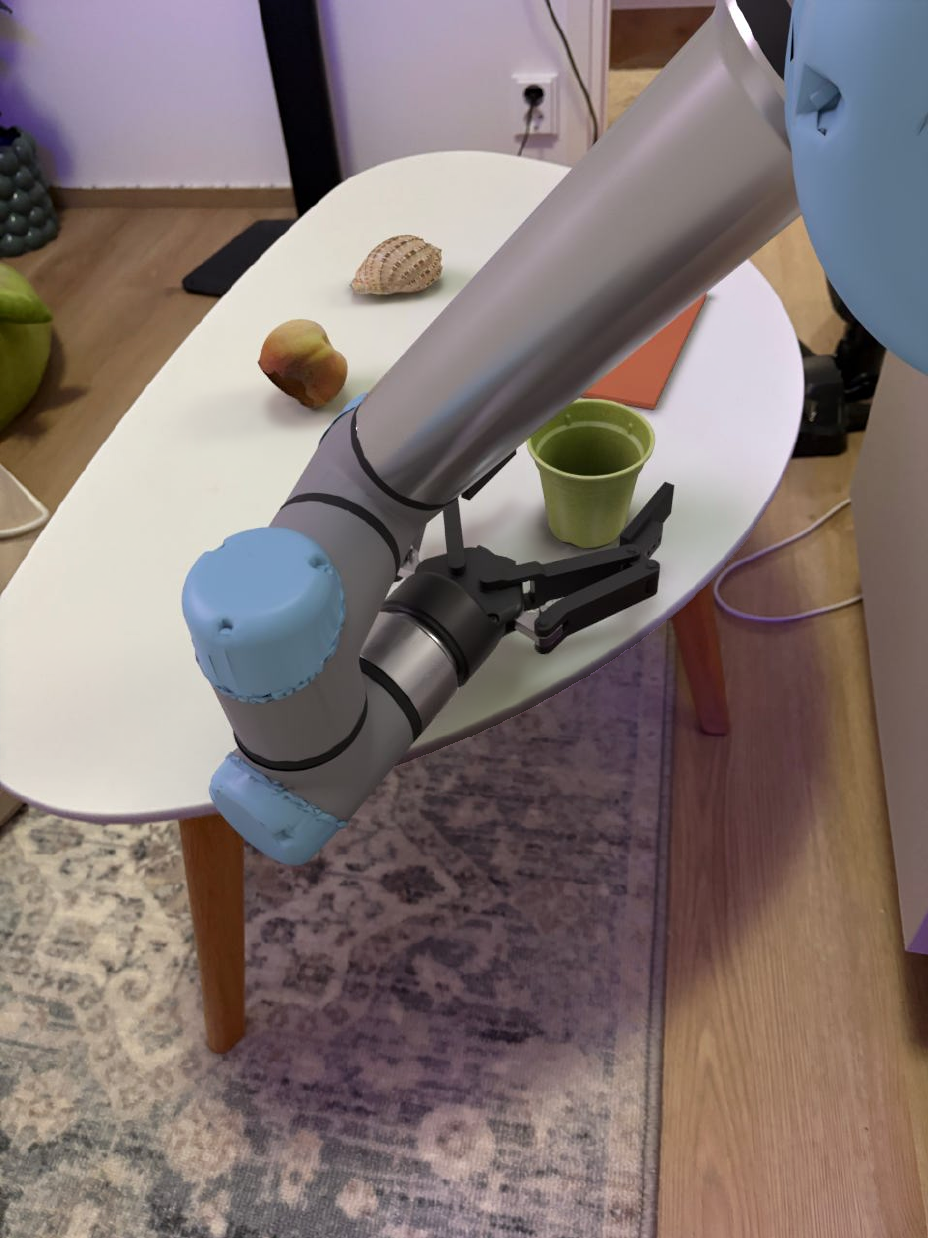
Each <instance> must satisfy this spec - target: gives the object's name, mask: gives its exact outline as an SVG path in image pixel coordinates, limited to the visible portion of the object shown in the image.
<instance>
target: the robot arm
mask: <svg viewBox="0 0 928 1238" xmlns="http://www.w3.org/2000/svg"><path fill="white" fill-rule="evenodd" d="M801 216H802V220H803V223H804V226H805V229H806V233H807V235H808V239H809V242H810V244H811V245H812V249H813V252H814V253H815V256H816V258H817V261H818V262H819V264H820V267H821V268H822V270H823V272H824V274H825V275H826V277H827V280H828V281H829V283H830V284H831V286H832V288H833V289H834V290H835V292H836V293H837V295H838V296H839V298H840V299H841V301H842V302H843V303H844V305H845V306H846V308H847V309H848V310H849V312H850V313H851V315H853V317H854V318H855V319H856V320H857V321H858V322H859V323H860V324H861V325H862V327H863V328H865V330H866V331H867V332H868V333H869V334H870V335H871V336H872V337H873V338H874V339H875V340H876V341H877V342H878V343H879V344H880V345H882V346H883V347H884V348H885V349H886V350H888V351H889V352H890V353H892V354H893V355H894V356H895V357H896V358H897V359H900V360H901V361H902V362H903V363H905V364H907V365H908V366H910V367H911V368H912V369H914V370H915V371H918V372H920V373H921V374H923V375H924V376H926V377H928V0H715V7H714V9H713V11H712V14H711V15H710V16H709V17H707V19H706V21H704V23H703V24H702V25H701V26H700V27H699V28H698V29H697V30H696V31H695V32H694V34H693V35H692V36H690V38H689V39H688V40H687V42H685V44H683V46H681V48H680V49H679V50H678V51H677V52H676V53H675V54H674V56H673V57H672V58H671V59H670V60H669V61H668V62H667V63H666V64H665V65H664V67H663V68H662V69H661V70H660V71H659V72H658V73H657V74H656V75H655V77H654V78H652V80H651V81H650V82H649V83H648V84H647V85H646V87H645V88H644V89H642V91H641V92H640V93H639V94H638V95H637V97H636V98H634V99H633V100H632V102H631V103H630V104H629V105H628V106H627V107H626V108H625V110H623V112H622V113H621V114H620V115H619V116H618V117H617V118H616V119H615V120H614V121H613V123H612V124H611V125H610V126H609V127H608V128H607V130H605V131H604V133H603V134H602V135H601V136H600V137H599V138H598V139H597V140H596V141H595V143H594V144H593V145H592V146H591V147H590V148H589V149H588V150H587V151H586V152H585V153H584V155H583V156H582V157H581V158H580V159H579V160H578V161H577V162H576V163H575V165H573V166H572V168H571V169H570V170H569V171H568V172H567V173H566V174H565V176H563V178H562V179H561V180H560V181H559V182H558V183H557V184H556V185H555V186H554V188H553V189H552V190H551V191H550V192H549V193H548V194H547V195H546V197H544V198H543V200H542V201H541V202H540V203H539V204H538V205H537V206H536V208H535V209H534V210H533V211H532V212H531V213H530V214H529V215H528V216H527V217H526V219H524V221H523V222H522V223H521V224H520V225H519V226H518V227H517V228H516V229H515V231H514V232H513V233H512V234H511V235H510V236H509V237H508V238H507V239H506V241H504V243H503V244H502V245H501V246H500V247H499V248H498V249H497V250H496V252H494V254H493V255H492V256H491V257H490V258H489V259H488V260H487V261H486V262H485V264H483V266H482V267H481V268H480V269H479V270H478V271H477V273H476V274H475V275H474V276H473V277H471V279H470V280H469V281H468V282H467V283H466V284H465V286H463V288H462V289H461V290H460V291H459V292H458V293H457V294H456V295H455V297H454V298H453V299H452V300H451V301H450V302H449V303H448V304H447V305H446V306H445V307H444V308H443V310H442V311H441V312H440V313H439V314H438V315H437V316H436V317H435V319H434V320H433V321H432V322H431V323H430V324H429V326H427V327H426V329H425V330H424V331H423V332H422V333H421V334H420V335H419V336H418V337H417V338H416V339H415V341H414V342H413V343H412V344H411V345H410V346H409V347H408V348H407V350H406V351H404V353H403V354H402V355H401V356H400V357H399V358H398V359H397V360H396V361H395V362H394V364H393V365H392V366H391V367H390V368H389V369H388V370H387V371H386V372H385V374H384V375H382V377H381V378H380V379H379V380H378V381H377V382H376V384H374V385H373V387H372V388H371V389H370V390H369V391H368V392H365V393H364V392H363V393H361V394H359V395H357V396H355V397H354V398H352V399H351V400H350V401H349V402H348V403H347V404H346V405H345V407H344V408H343V409H342V410H341V412H340V413H339V414H338V415H337V416H336V417H335V418H334V419H333V420H332V422H331V423H330V424H329V426H328V427H327V429H326V430H325V431H324V432H323V434H322V435H321V437H320V439H319V441H318V444H317V448H316V450H315V452H314V453H313V455H312V456H311V458H310V460H309V461H308V464H307V465H306V467H304V470H303V472H302V473H301V475H300V476H299V478H298V480H297V482H295V485H294V486H293V488H292V490H291V491H290V494H288V496H287V498H286V500H285V502H284V503H283V504H282V505H281V506H280V508H279V510H278V511H277V512H276V514H275V515H274V517H273V518H272V520H271V522H270V523H269V525H268V526H264V527H263V526H261V527H256V528H255V527H254V528H251V529H246V530H243V531H242V530H241V531H239V532H236V533H233V534H231V535H229V536H227V537H226V538H224V539H223V542H222V544H221V545H219V546H218V547H217V548H215V549H214V550H210V551H209V550H207V551H204V552H203V553H202V554H201V555H200V556H199V557H198V558H197V560H196V561H195V562H194V563H193V565H192V566H191V568H190V569H189V571H188V573H187V574H186V577H185V580H184V583H183V586H182V590H181V591H182V592H181V600H180V601H181V610H182V616H183V618H184V621H185V623H186V624H185V625H186V626H187V629H188V631H189V635H190V638H191V643H192V646H193V648H194V656H195V662H196V663H197V665H198V666H199V669H200V671H201V672H202V675H203V676H204V678H205V679H207V681H208V682H209V684H210V686H211V688H212V690H213V692H214V694H215V696H216V698H217V700H218V702H219V704H220V706H221V708H222V711H223V712H224V715H225V716H226V719H227V722H228V723H229V725H230V727H231V729H232V735H233V739H234V741H235V744H236V748H234V750H233V751H230V752H229V753H228V754H227V755H226V756H225V759H224V761H223V762H222V763H221V764H220V765H219V767H218V768H217V769H216V770H215V772H214V773H213V774H212V776H211V778H210V783H209V785H208V794H209V797H210V800H211V801H212V804H213V805H214V807H215V808H216V810H217V811H218V812H219V814H220V815H221V816H222V817H223V818H224V820H225V821H226V822H227V823H228V824H229V825H230V826H231V827H232V828H233V829H234V830H235V832H236V833H238V834H239V835H240V837H242V838H243V839H244V840H245V841H247V842H248V843H249V844H250V845H251V846H253V847H254V848H255V849H257V850H259V852H261V853H262V854H264V855H265V856H267V857H268V858H270V859H272V860H274V861H275V862H278V863H280V864H283V865H286V866H292V867H294V866H302V865H304V864H306V863H308V862H310V861H311V860H312V859H313V858H314V857H315V856H316V855H317V854H318V853H319V852H320V851H321V850H322V849H323V848H324V846H325V845H326V844H327V843H328V842H329V841H330V840H331V839H332V838H333V837H334V836H335V835H336V834H337V833H338V832H339V831H340V830H342V829H345V828H346V827H347V826H348V825H349V821H350V820H351V819H352V818H353V816H354V815H355V814H356V813H357V811H358V810H359V809H360V808H361V807H362V806H363V804H364V803H365V802H366V801H367V800H368V799H369V797H370V796H371V795H372V794H373V793H374V792H375V790H376V789H377V788H378V786H379V785H380V784H381V783H382V782H383V780H384V779H385V778H386V777H387V776H388V774H389V773H391V771H392V770H393V769H394V767H395V766H396V765H397V764H398V763H399V761H400V760H401V759H402V758H403V757H404V755H405V754H406V753H407V752H408V750H409V749H410V748H411V747H412V745H414V743H415V742H416V740H418V739H419V737H421V735H423V734H424V732H425V731H426V730H427V729H428V728H429V726H430V725H431V724H432V723H433V722H434V721H435V719H436V718H437V717H439V715H440V714H441V712H443V710H444V709H445V708H446V707H447V706H448V704H449V703H450V702H451V701H452V700H453V699H454V697H455V696H456V695H457V692H458V690H459V688H462V687H464V686H465V685H466V684H467V683H468V682H469V681H470V680H471V678H472V677H473V676H474V675H475V674H476V673H477V671H478V670H479V669H480V668H481V666H482V665H484V663H485V662H486V661H487V660H488V659H489V657H490V656H491V655H492V654H493V652H494V651H495V649H496V648H497V646H498V644H499V643H500V642H501V640H502V639H503V638H504V637H506V636H507V635H510V634H512V633H514V632H518V633H520V634H522V635H524V636H525V637H526V638H529V639H530V640H532V641H533V642H534V650H535V652H536V653H537V654H539V655H549V654H550V653H552V652H553V651H554V650H555V649H556V648H557V647H558V646H559V645H560V644H561V643H562V642H563V641H564V640H565V639H566V638H567V637H569V636H572V635H573V634H576V633H578V632H580V631H582V630H584V629H586V628H589V627H590V626H593V625H594V624H598V623H599V622H601V621H603V620H605V619H607V618H610V617H612V616H614V615H617V614H618V613H621V612H622V611H625V610H627V609H629V608H631V607H633V606H635V605H638V604H639V603H642V602H644V601H646V600H649V599H650V598H653V597H655V596H656V595H657V594H658V589H659V581H660V572H661V563H660V562H659V561H658V560H656V559H651V558H652V556H653V555H654V554H655V552H656V551H657V549H658V548H659V547H660V546H661V545H662V540H663V532H664V523H665V522H666V521H667V519H668V518H669V517H670V515H671V514H672V510H673V500H674V492H675V484H672V483H670V482H668V481H664V482H663V483H662V485H661V486H660V487H659V488H658V489H657V490H656V492H655V493H654V494H653V495H652V496H651V497H650V498H649V500H647V502H646V503H645V504H644V506H643V507H642V508H641V509H640V511H639V512H638V513H637V514H636V515H635V516H634V518H633V519H632V520H631V521H630V523H629V524H628V525H627V526H626V527H625V529H623V530H622V531H621V533H620V534H619V539H618V540H619V541H618V542H619V543H618V546H614V547H610V548H606V549H603V550H598V551H594V552H589V553H585V554H581V555H577V556H572V557H567V558H563V559H559V560H555V561H550V562H547V563H541V562H539V561H537V560H533V561H528V562H524V563H520V564H517V560H514V559H512V558H509V557H507V556H502V555H499V554H495V553H493V551H491V550H490V549H489V548H486V547H485V546H483V545H480V544H478V545H476V546H467V547H465V545H464V536H463V528H462V519H461V510H460V502H459V497H460V498H461V499H464V500H465V501H468V502H470V501H471V500H473V498H474V497H475V496H476V495H477V494H478V493H479V492H480V491H481V490H482V489H483V488H484V487H485V486H486V485H487V484H488V483H489V482H490V481H491V480H492V479H494V478H495V476H496V475H497V474H498V473H499V472H500V471H501V470H502V469H504V467H505V466H506V465H507V464H509V462H511V460H512V459H513V458H514V457H515V456H517V453H518V452H517V450H518V448H519V447H521V446H522V445H523V444H524V443H526V441H527V440H528V439H529V438H530V437H531V436H533V435H534V434H535V433H536V432H538V431H539V430H540V429H541V428H542V427H544V426H545V425H546V424H547V423H549V422H550V421H551V420H552V419H553V418H555V417H556V416H557V415H558V414H560V413H561V412H562V411H563V410H564V409H566V408H567V407H568V406H569V405H570V404H572V403H573V402H574V401H575V400H577V399H580V397H581V395H583V394H584V393H585V392H586V391H588V390H589V389H590V388H591V387H592V386H594V385H595V384H596V383H597V382H598V381H600V380H601V379H602V378H603V377H605V376H606V375H607V374H608V373H609V372H611V371H612V370H613V369H614V368H616V367H617V366H618V365H619V364H620V363H622V362H623V361H624V360H625V359H627V358H628V357H629V356H630V355H631V354H633V353H634V352H635V351H636V350H637V349H639V348H640V347H641V346H642V345H644V344H645V343H646V342H647V341H648V340H650V339H651V338H652V337H653V336H655V335H656V334H657V333H658V332H659V331H661V330H662V329H663V328H664V327H665V326H667V325H668V324H669V323H670V322H672V321H673V320H674V319H675V318H676V317H678V316H679V315H680V314H681V313H683V312H684V311H685V310H686V309H687V308H689V307H690V306H691V305H692V304H694V303H695V302H696V301H697V300H698V299H700V298H701V297H702V296H703V295H704V294H706V293H707V294H708V293H709V292H710V291H711V290H712V289H713V288H714V287H715V286H717V285H718V284H719V283H720V282H721V281H723V280H725V278H727V277H728V276H729V275H730V274H731V273H732V272H734V271H735V270H736V269H738V268H739V267H740V266H741V265H742V264H743V263H745V262H746V261H748V259H750V258H751V257H752V256H753V255H755V254H756V253H757V252H758V251H759V250H761V249H762V248H763V247H765V246H766V245H767V244H769V242H770V241H772V240H773V239H774V238H775V237H777V236H778V235H779V234H780V233H782V231H784V230H785V229H787V227H789V226H790V225H791V224H793V222H795V221H796V220H797V219H798V218H800V217H801ZM441 512H442V517H443V526H444V527H443V529H444V539H445V549H446V552H445V553H442V554H438V555H434V556H432V557H429V558H425V559H423V560H420V555H419V554H420V551H421V546H422V543H423V539H424V535H425V532H426V528H427V524H428V523H430V522H431V521H432V520H433V519H435V518H436V517H438V515H440V513H441ZM403 579H404V580H403ZM402 580H403V581H402ZM401 581H402V582H401ZM399 582H401V583H400V584H399V585H398V586H397V587H396V588H395V589H394V590H393V591H392V592H391V593H390V591H391V588H392V586H393V585H394V583H399ZM526 582H529V590H528V591H526V592H524V584H523V583H526ZM389 593H390V594H389ZM554 600H556V601H555V602H554V603H553V602H552V604H551V605H550V606H547V605H546V604H547V603H548V602H550V601H554ZM533 610H536V611H535V612H530V611H533Z"/></svg>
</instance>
